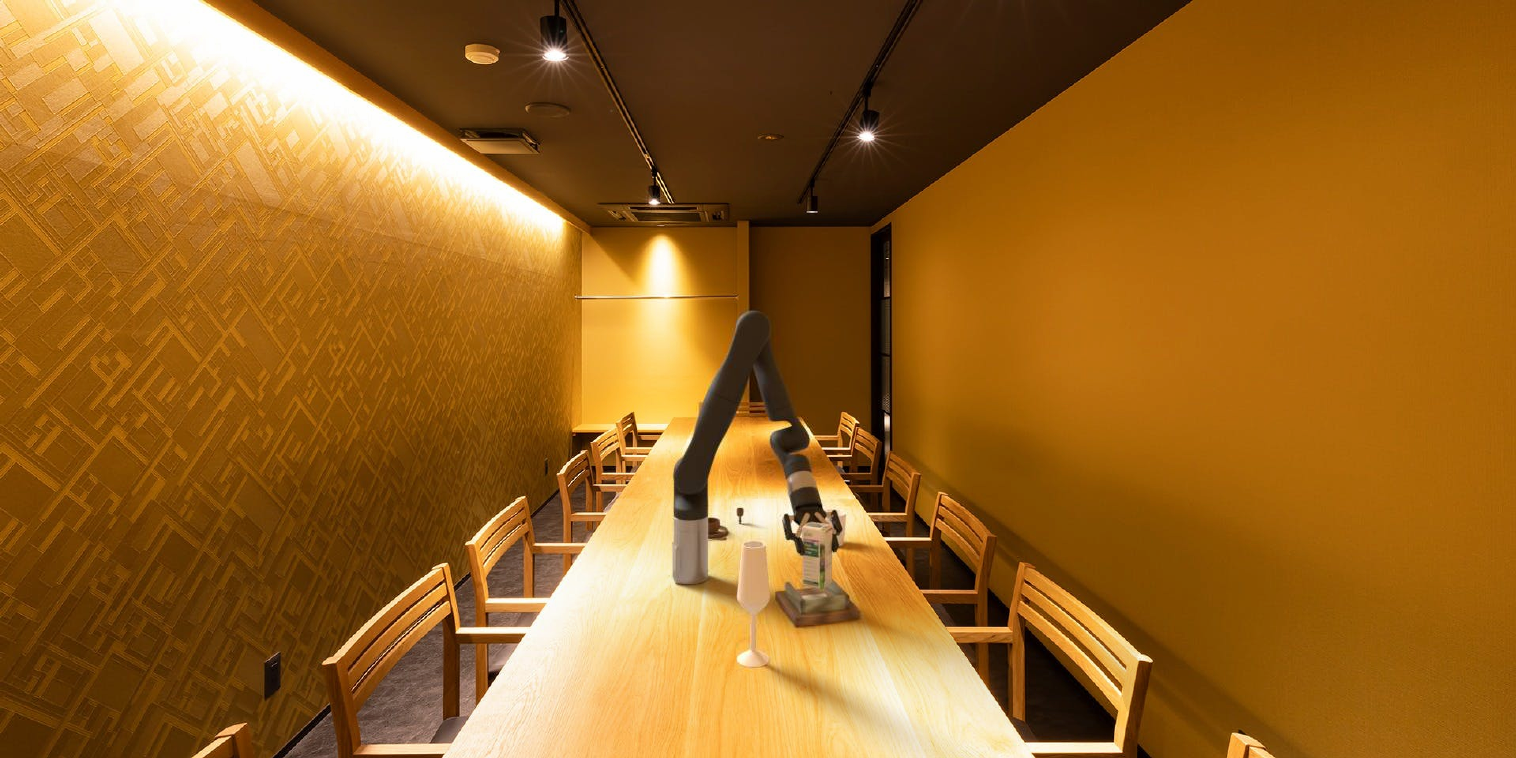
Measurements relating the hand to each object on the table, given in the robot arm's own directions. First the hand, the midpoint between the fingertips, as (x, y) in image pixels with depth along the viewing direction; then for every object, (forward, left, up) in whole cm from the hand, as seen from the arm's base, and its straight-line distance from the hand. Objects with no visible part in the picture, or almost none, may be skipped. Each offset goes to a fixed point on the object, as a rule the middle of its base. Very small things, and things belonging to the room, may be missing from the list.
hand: (819, 552), depth 161 cm
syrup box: (0, +1, -8) cm, 8 cm away
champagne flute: (-21, -19, -14) cm, 32 cm away
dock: (0, +1, -14) cm, 14 cm away
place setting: (-10, +67, -15) cm, 70 cm away
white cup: (+22, +46, -15) cm, 53 cm away
